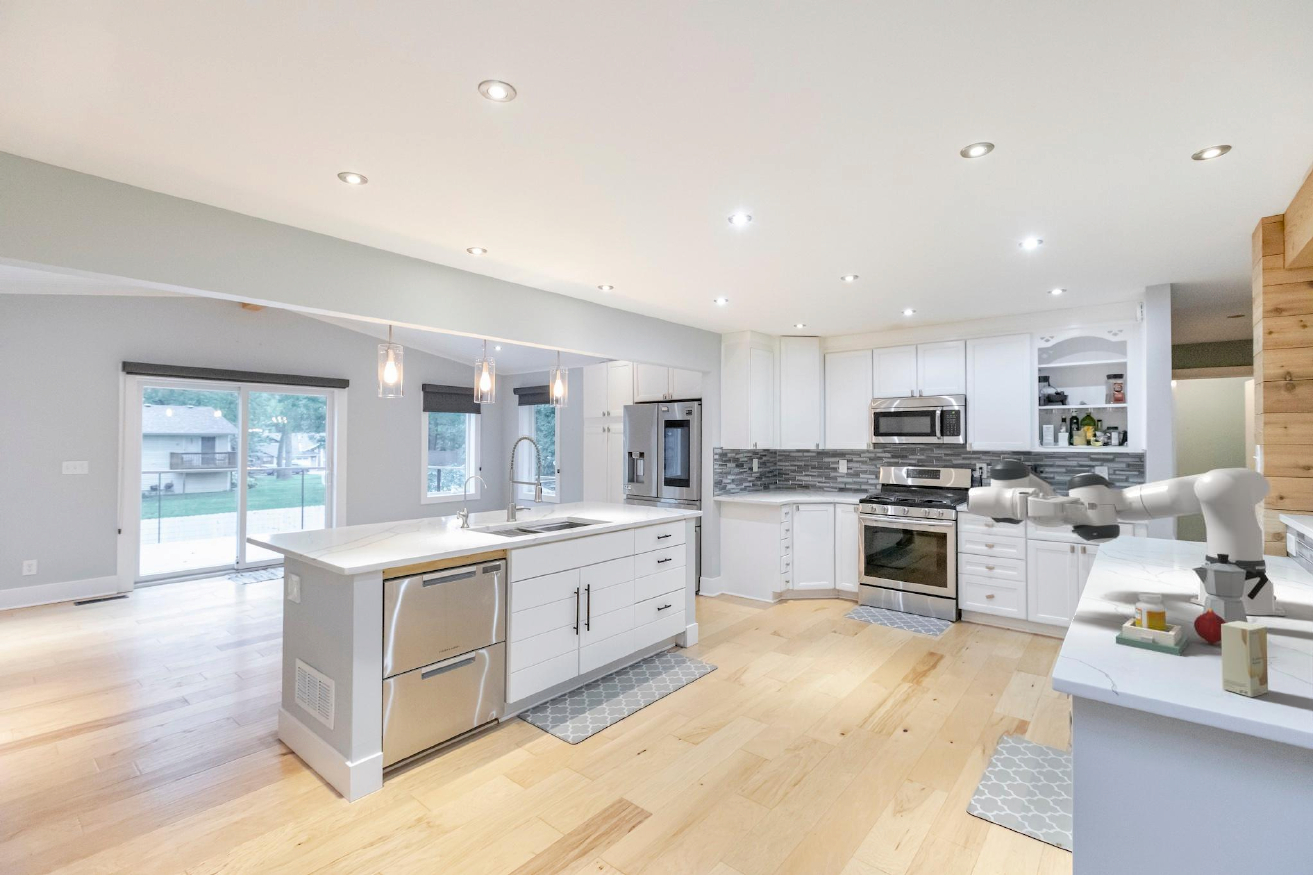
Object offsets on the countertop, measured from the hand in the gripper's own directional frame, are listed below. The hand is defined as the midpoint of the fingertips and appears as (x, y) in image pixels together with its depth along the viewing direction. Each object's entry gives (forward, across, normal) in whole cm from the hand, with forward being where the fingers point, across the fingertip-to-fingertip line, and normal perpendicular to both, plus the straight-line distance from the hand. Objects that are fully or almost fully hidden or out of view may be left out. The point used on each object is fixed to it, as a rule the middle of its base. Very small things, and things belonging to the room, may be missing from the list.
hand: (1091, 507), depth 149 cm
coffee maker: (+22, -26, -30) cm, 46 cm away
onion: (+21, -4, -30) cm, 37 cm away
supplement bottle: (+12, +5, -29) cm, 31 cm away
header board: (+12, +5, -30) cm, 33 cm away
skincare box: (+29, +26, -30) cm, 49 cm away
